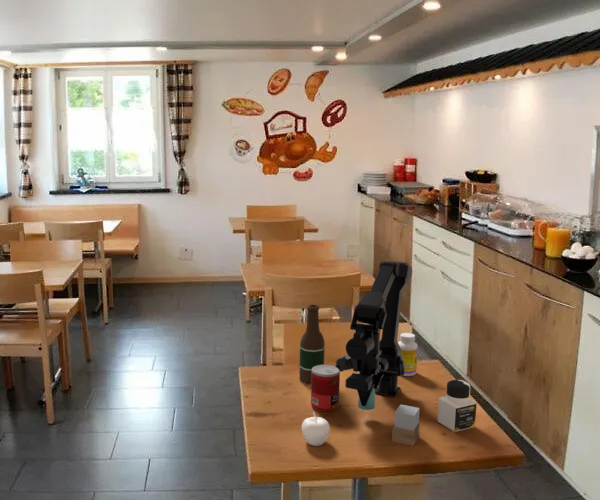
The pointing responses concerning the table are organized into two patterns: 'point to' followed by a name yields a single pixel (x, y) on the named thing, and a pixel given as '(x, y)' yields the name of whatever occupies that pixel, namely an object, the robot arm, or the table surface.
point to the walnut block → (405, 435)
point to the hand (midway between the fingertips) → (366, 402)
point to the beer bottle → (311, 346)
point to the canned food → (325, 387)
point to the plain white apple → (315, 430)
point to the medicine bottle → (457, 407)
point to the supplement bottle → (408, 353)
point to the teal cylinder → (370, 402)
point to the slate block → (406, 417)
